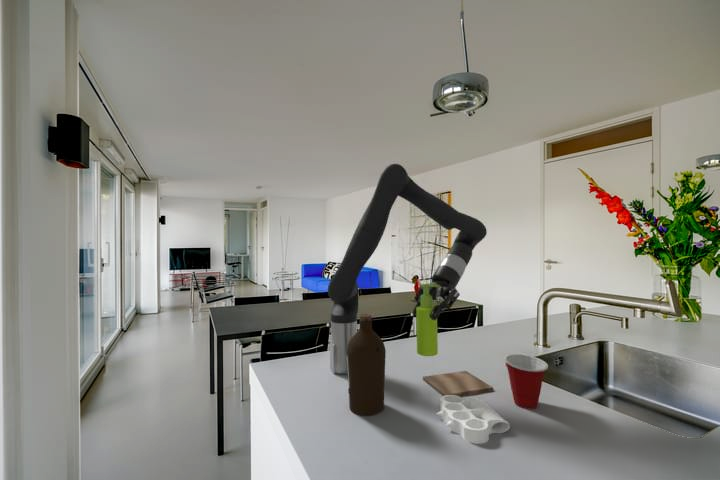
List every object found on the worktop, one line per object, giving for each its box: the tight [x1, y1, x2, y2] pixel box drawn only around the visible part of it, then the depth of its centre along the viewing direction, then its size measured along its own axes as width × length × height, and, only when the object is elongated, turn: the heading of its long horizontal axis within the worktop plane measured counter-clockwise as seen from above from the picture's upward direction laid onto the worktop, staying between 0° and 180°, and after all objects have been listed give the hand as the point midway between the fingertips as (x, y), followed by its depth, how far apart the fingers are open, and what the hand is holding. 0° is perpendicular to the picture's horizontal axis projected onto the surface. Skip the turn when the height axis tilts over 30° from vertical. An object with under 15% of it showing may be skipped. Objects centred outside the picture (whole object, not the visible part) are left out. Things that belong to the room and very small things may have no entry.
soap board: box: [422, 370, 494, 397], centre depth 106 cm, size 16×14×1 cm
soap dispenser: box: [415, 283, 440, 357], centre depth 99 cm, size 6×7×20 cm
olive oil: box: [346, 313, 387, 416], centre depth 93 cm, size 11×11×25 cm
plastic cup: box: [504, 353, 549, 410], centre depth 93 cm, size 11×11×12 cm
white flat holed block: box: [436, 395, 511, 445], centre depth 84 cm, size 3×18×15 cm
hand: (423, 316), depth 98 cm, fingers closed on soap dispenser, 6 cm apart
